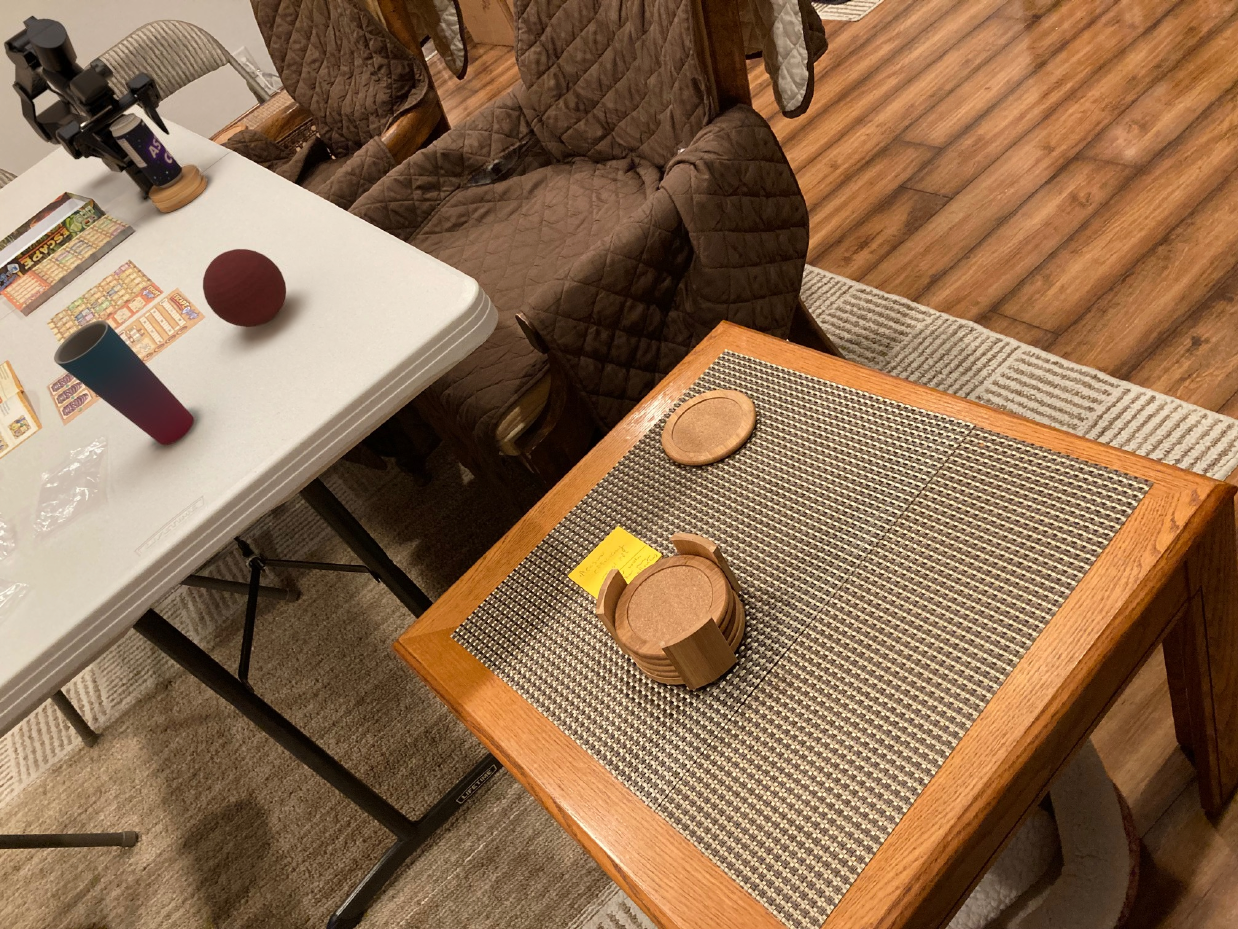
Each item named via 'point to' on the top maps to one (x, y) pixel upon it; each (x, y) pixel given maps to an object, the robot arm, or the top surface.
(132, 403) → the cup
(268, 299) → the decorative ball
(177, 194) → the coaster pile
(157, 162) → the beverage can
